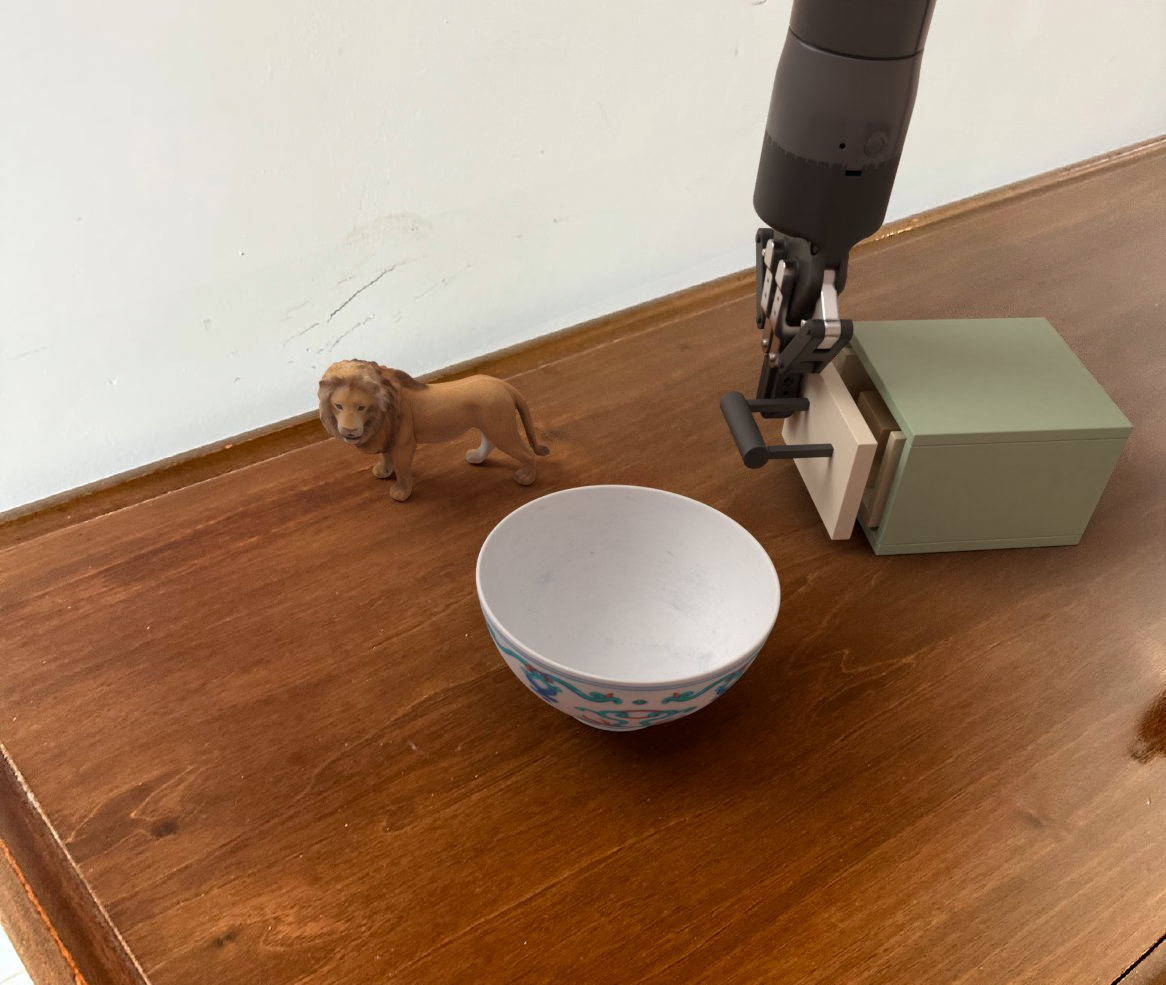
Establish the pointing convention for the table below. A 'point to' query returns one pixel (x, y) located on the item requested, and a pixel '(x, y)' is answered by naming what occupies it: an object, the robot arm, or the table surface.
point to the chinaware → (626, 602)
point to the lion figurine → (422, 417)
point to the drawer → (824, 443)
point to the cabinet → (988, 434)
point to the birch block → (877, 427)
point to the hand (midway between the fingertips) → (773, 412)
